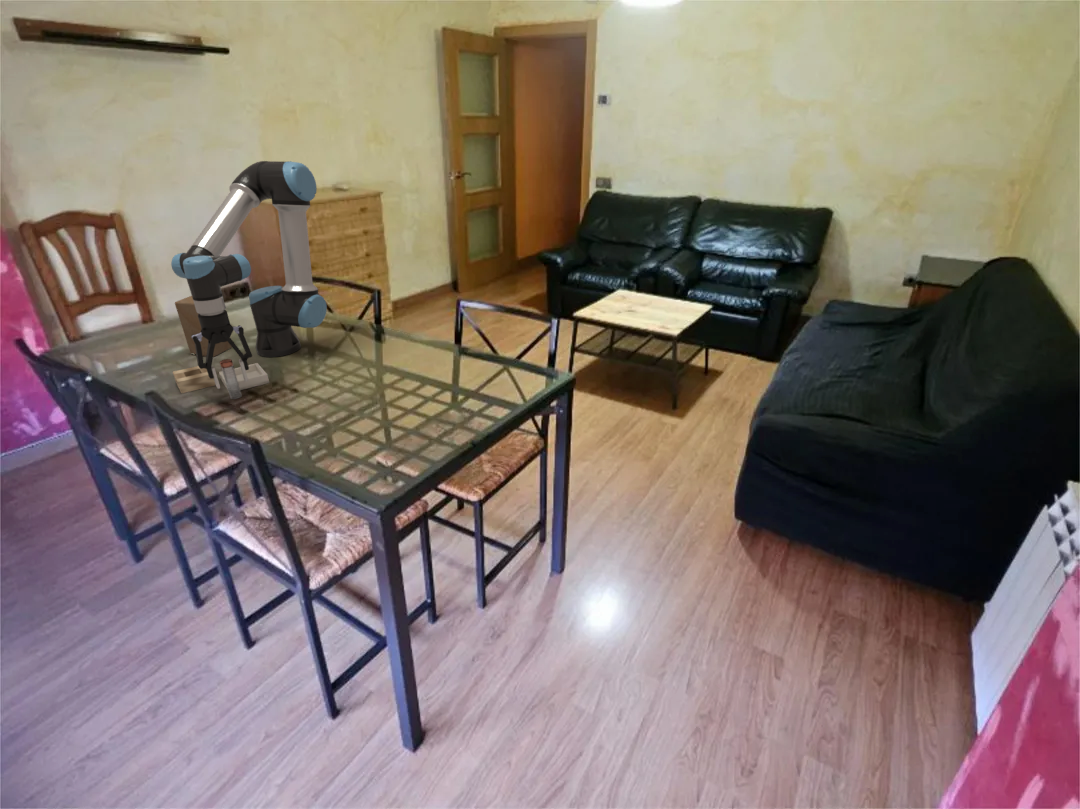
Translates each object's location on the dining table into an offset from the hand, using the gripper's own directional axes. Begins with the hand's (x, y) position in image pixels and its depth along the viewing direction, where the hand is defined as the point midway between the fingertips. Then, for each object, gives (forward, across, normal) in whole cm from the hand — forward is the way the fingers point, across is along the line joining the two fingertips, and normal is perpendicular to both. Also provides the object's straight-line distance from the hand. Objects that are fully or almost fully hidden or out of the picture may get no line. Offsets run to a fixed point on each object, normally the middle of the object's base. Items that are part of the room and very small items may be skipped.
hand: (232, 383), depth 173 cm
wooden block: (+5, -2, -46) cm, 46 cm away
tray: (+5, -5, -10) cm, 12 cm away
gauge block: (+5, +8, -18) cm, 20 cm away
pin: (+5, 0, 0) cm, 5 cm away
